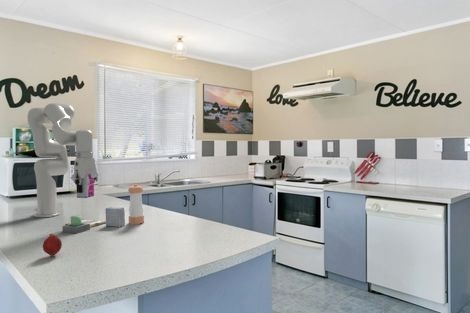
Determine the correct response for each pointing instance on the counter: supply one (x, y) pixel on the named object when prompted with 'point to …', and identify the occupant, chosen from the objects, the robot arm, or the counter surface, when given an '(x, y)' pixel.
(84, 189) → the supplement box
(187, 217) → the counter surface
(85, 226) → the button box
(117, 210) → the medicine box
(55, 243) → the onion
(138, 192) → the pepper shaker
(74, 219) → the button
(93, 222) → the wooden picture frame
